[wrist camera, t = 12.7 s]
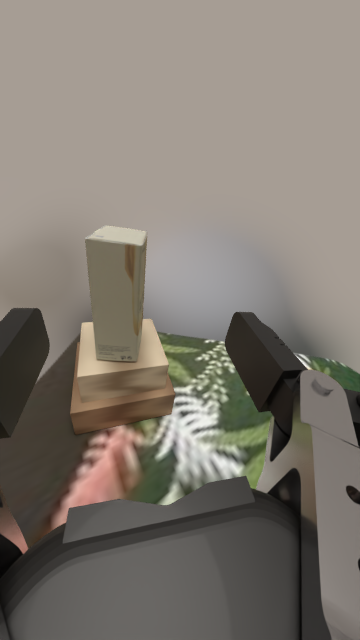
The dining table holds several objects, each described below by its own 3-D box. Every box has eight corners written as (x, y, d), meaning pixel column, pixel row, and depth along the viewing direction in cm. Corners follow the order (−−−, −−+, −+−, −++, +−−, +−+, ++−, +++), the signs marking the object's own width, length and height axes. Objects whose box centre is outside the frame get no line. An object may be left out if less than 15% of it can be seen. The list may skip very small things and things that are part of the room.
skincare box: (137, 363, 22) (143, 246, 15) (94, 361, 22) (81, 238, 15) (143, 328, 27) (148, 229, 21) (108, 325, 27) (103, 222, 20)
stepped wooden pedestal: (152, 354, 35) (156, 314, 31) (171, 413, 27) (180, 370, 22) (80, 363, 31) (73, 318, 27) (75, 435, 23) (64, 387, 19)
